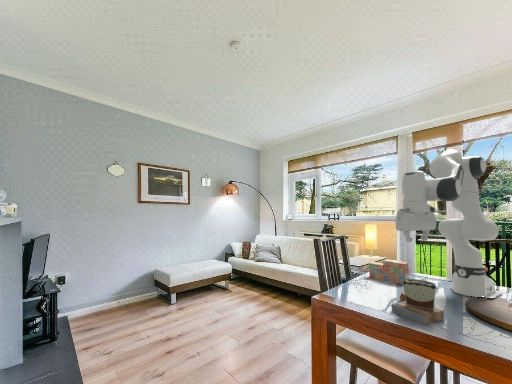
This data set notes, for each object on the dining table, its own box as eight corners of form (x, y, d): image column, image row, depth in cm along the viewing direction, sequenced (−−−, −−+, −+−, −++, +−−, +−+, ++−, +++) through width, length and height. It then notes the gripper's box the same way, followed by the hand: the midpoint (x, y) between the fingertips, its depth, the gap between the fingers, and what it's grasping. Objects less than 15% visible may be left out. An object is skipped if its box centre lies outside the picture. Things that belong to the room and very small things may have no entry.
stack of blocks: (369, 277, 157) (368, 258, 158) (373, 275, 161) (372, 257, 162) (405, 285, 141) (404, 263, 142) (409, 283, 145) (408, 262, 146)
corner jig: (411, 306, 108) (411, 299, 109) (445, 320, 95) (445, 312, 95) (391, 310, 104) (391, 303, 104) (424, 325, 91) (424, 317, 91)
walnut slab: (414, 309, 107) (414, 300, 107) (443, 321, 96) (443, 310, 96) (396, 313, 103) (396, 303, 103) (425, 325, 92) (424, 315, 92)
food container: (438, 306, 100) (436, 281, 101) (438, 310, 95) (437, 284, 96) (403, 300, 108) (402, 277, 109) (402, 303, 103) (401, 279, 104)
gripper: (404, 208, 96) (406, 243, 95) (438, 208, 104) (440, 240, 103) (390, 208, 102) (392, 241, 101) (423, 208, 109) (425, 239, 108)
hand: (417, 241), depth 102 cm, fingers open, 8 cm apart
